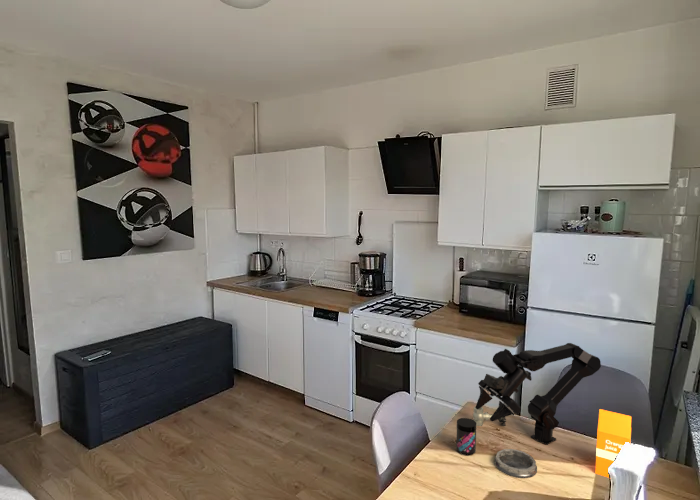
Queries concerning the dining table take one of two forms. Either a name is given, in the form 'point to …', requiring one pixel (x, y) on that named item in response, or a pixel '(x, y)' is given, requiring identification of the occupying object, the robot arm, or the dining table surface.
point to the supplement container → (466, 436)
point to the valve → (484, 417)
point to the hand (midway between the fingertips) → (483, 414)
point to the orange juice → (610, 438)
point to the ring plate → (516, 463)
